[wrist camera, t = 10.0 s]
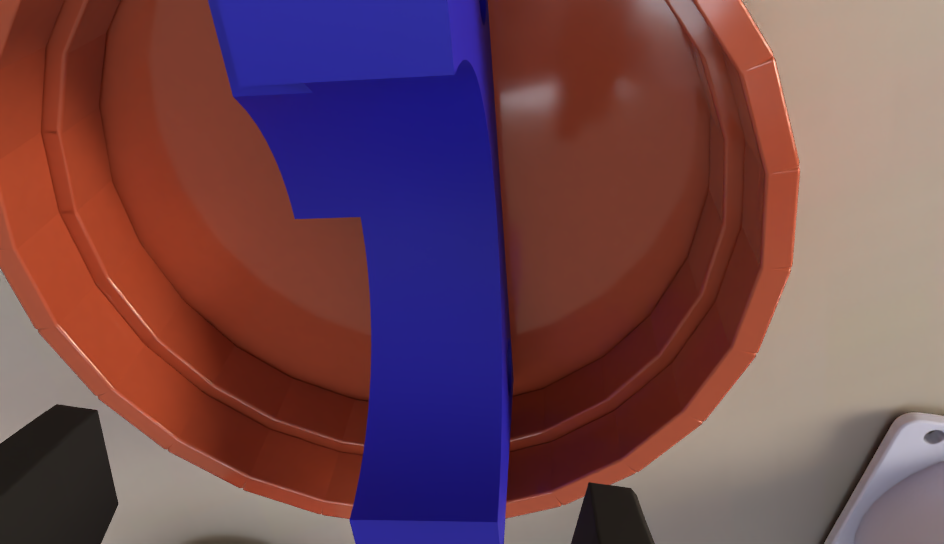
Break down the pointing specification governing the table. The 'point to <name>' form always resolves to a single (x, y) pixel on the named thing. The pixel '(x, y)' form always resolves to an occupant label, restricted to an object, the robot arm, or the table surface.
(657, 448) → the bowl
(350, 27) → the blue bracket
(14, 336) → the table surface
